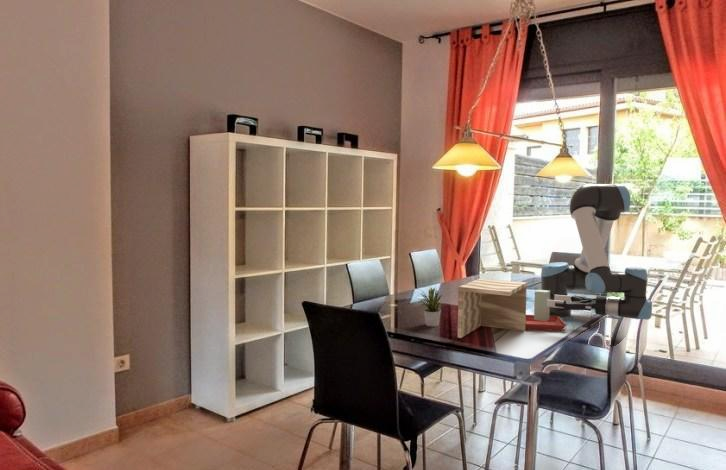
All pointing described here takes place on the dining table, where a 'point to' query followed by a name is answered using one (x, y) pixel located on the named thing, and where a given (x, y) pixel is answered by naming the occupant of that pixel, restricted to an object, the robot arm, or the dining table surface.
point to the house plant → (432, 308)
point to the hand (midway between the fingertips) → (550, 300)
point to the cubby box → (491, 305)
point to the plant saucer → (545, 323)
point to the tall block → (541, 305)
